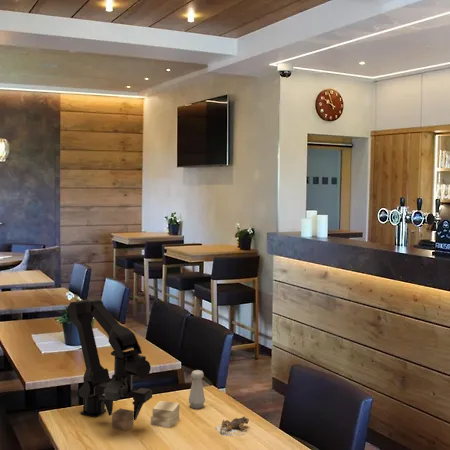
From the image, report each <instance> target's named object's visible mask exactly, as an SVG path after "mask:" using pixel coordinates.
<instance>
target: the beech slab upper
mask: <svg viewBox="0 0 450 450" xmlns="http://www.w3.org/2000/svg"><path fill="white" fill-rule="evenodd" d="M178 413H179V414H180V402H172V401H164V400H163V401H162V400H159V401H158V402H157V404H155V405H154V406H153V408H152V415H153V416H152V415H151V416H152V417H153V418H161V419H169V420H173V419H174V418H175V417H176V415H177V414H178Z"/></svg>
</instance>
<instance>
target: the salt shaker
mask: <svg viewBox="0 0 450 450" xmlns="http://www.w3.org/2000/svg"><path fill="white" fill-rule="evenodd" d="M204 376H205V375H204V372H203V370H200V369H195V370H193V371H191V378H192V382H191V386H190V392H189V395H188V403H189V406H190V407H191V408H192V409H197V410H199V409H202V408H203V406H204V404H205V401H206V398H205V392H204V387H203V385H204V384H203V380H202V379H203V378H204Z"/></svg>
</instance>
